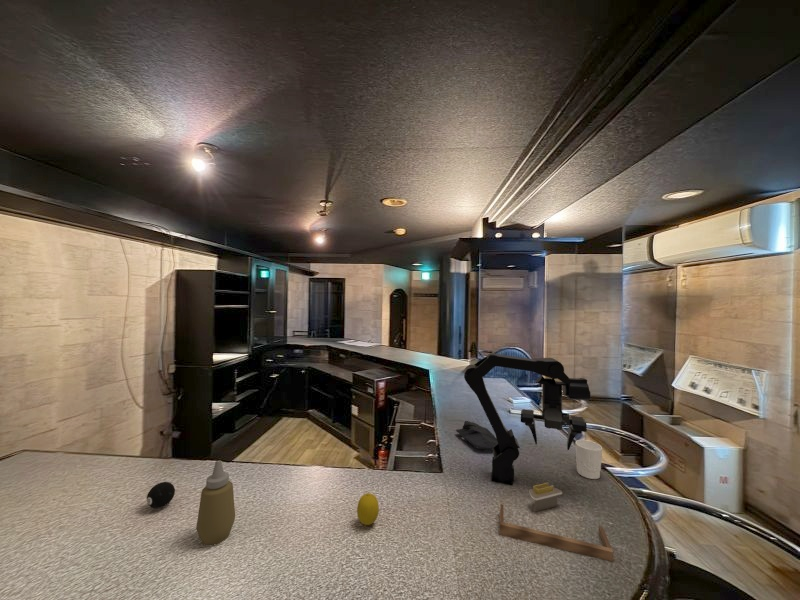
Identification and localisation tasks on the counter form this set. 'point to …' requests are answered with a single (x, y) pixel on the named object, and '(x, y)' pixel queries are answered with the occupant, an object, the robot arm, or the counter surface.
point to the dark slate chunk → (477, 435)
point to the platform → (544, 496)
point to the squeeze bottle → (216, 507)
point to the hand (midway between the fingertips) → (551, 446)
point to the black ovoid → (160, 495)
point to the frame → (557, 540)
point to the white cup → (588, 458)
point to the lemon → (367, 509)
